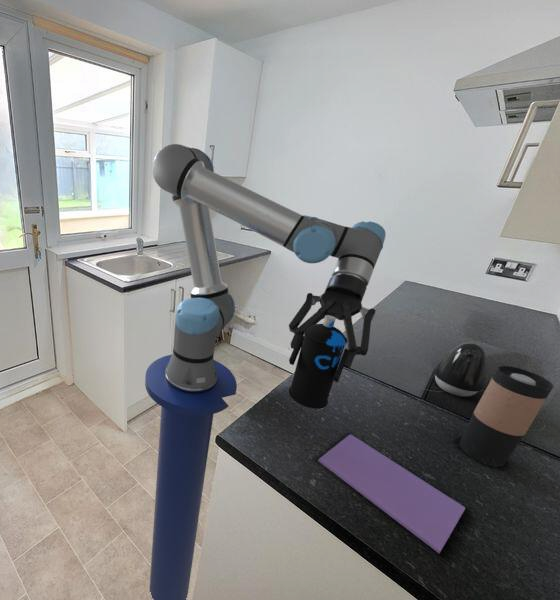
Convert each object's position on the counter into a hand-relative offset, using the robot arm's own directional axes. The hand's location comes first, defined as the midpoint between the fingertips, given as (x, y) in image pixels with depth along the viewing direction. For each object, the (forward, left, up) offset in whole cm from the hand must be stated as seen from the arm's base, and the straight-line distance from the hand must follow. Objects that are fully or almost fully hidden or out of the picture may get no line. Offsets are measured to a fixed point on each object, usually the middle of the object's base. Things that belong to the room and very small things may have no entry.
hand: (312, 370), depth 65 cm
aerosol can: (-1, +3, -9) cm, 9 cm away
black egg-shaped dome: (+14, +54, -17) cm, 58 cm away
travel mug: (+25, +30, -17) cm, 43 cm away
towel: (+17, +3, -16) cm, 24 cm away
